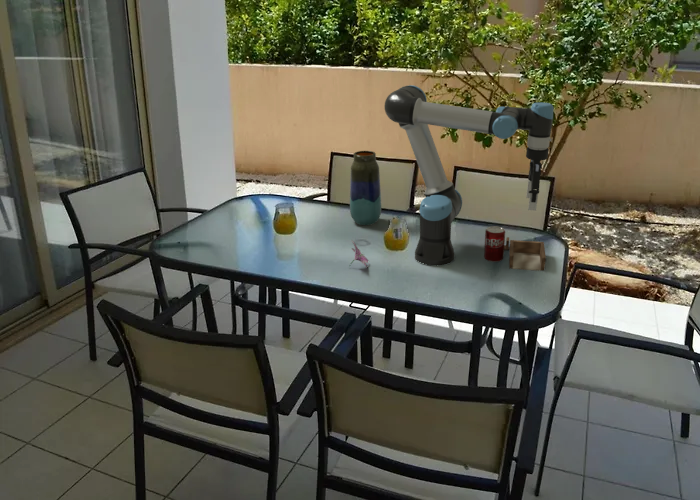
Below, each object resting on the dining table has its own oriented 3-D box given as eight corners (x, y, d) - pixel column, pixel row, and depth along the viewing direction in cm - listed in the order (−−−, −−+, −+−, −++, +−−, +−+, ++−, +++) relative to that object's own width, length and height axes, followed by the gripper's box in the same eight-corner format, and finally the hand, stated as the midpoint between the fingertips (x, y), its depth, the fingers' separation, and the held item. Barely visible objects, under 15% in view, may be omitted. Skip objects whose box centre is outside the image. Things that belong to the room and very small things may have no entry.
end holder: (509, 268, 230) (510, 255, 228) (509, 252, 243) (510, 239, 241) (544, 271, 227) (545, 257, 225) (542, 254, 241) (543, 242, 239)
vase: (382, 227, 272) (381, 156, 259) (350, 228, 272) (348, 157, 260) (381, 216, 284) (380, 148, 272) (350, 217, 285) (348, 149, 272)
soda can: (503, 263, 234) (505, 233, 230) (483, 262, 236) (485, 232, 231) (503, 255, 241) (505, 226, 236) (483, 254, 242) (485, 225, 237)
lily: (358, 279, 227) (371, 257, 225) (333, 262, 230) (345, 240, 228) (370, 276, 238) (382, 254, 236) (345, 259, 242) (357, 238, 239)
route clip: (495, 249, 246) (496, 240, 245) (495, 246, 250) (496, 236, 248) (508, 250, 245) (509, 240, 244) (508, 246, 248) (509, 237, 247)
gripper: (551, 157, 211) (544, 216, 220) (546, 139, 234) (539, 193, 242) (528, 155, 213) (522, 214, 221) (525, 138, 235) (519, 192, 244)
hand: (531, 203), depth 232 cm, fingers open, 13 cm apart
